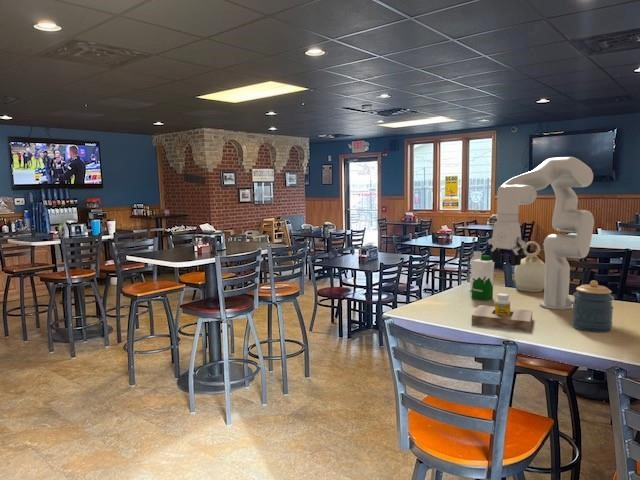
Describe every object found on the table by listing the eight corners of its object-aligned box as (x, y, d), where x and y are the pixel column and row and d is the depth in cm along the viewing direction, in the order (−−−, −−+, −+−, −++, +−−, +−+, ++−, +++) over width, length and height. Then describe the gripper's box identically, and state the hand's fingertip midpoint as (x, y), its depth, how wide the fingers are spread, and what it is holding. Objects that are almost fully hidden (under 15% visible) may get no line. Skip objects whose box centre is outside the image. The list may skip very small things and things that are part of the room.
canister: (573, 330, 170) (576, 282, 168) (569, 321, 182) (571, 276, 180) (615, 334, 165) (618, 284, 163) (608, 325, 177) (611, 278, 175)
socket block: (532, 319, 185) (532, 310, 185) (529, 331, 169) (529, 321, 169) (478, 313, 194) (479, 305, 194) (471, 324, 178) (471, 315, 178)
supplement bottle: (509, 318, 183) (510, 293, 182) (510, 321, 178) (511, 296, 177) (494, 316, 185) (495, 292, 184) (495, 320, 180) (496, 295, 179)
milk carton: (495, 298, 222) (496, 256, 220) (485, 301, 216) (487, 257, 214) (478, 295, 228) (479, 254, 226) (468, 298, 222) (469, 256, 220)
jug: (544, 294, 231) (546, 243, 229) (510, 290, 240) (512, 241, 237) (548, 288, 244) (550, 240, 242) (516, 285, 252) (518, 239, 250)
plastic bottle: (484, 292, 236) (485, 252, 234) (470, 291, 237) (471, 252, 235) (482, 289, 242) (483, 250, 240) (468, 289, 243) (469, 250, 241)
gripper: (482, 217, 184) (481, 261, 186) (520, 220, 169) (518, 267, 171) (496, 217, 188) (494, 259, 189) (534, 219, 172) (532, 265, 174)
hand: (506, 263), depth 180 cm, fingers open, 9 cm apart
